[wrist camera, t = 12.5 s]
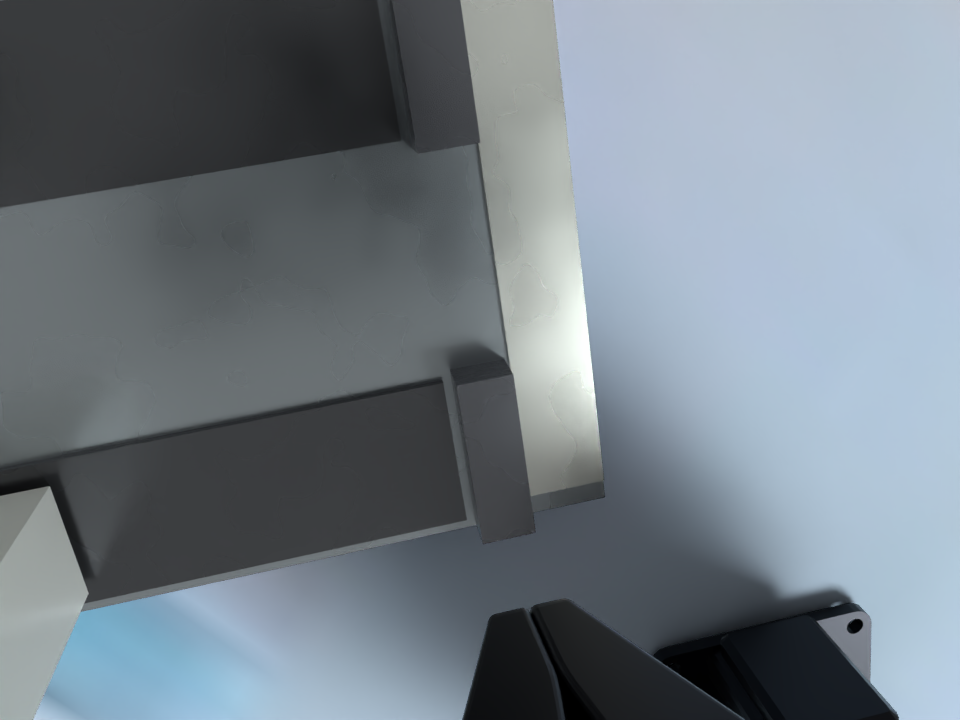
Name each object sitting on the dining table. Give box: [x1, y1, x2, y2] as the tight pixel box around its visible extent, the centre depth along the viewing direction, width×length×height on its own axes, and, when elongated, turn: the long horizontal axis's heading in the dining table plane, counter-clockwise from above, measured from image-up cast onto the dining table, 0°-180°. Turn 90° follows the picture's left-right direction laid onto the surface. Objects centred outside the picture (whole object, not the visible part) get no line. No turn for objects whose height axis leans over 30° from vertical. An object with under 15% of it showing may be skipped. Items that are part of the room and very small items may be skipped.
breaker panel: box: [0, 0, 605, 612], centre depth 16 cm, size 21×19×3 cm
